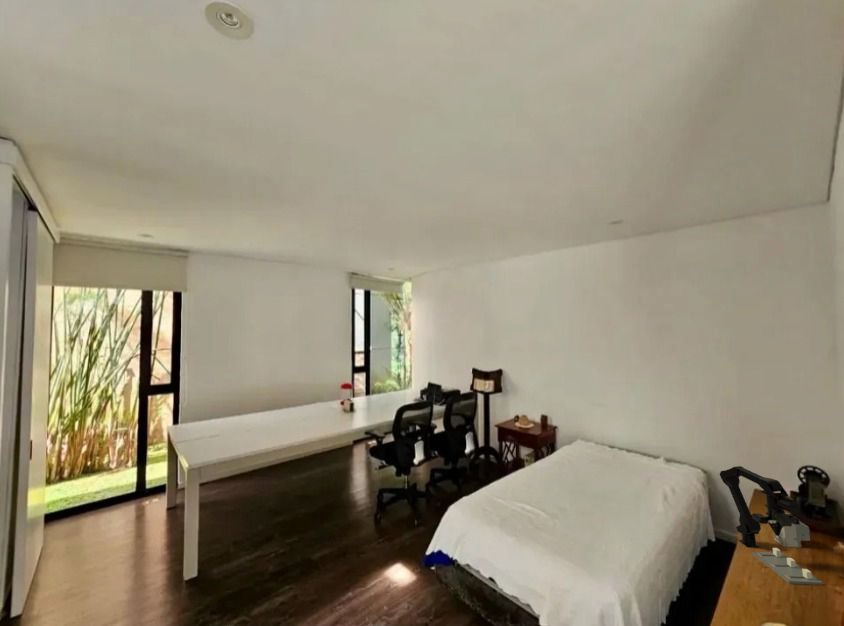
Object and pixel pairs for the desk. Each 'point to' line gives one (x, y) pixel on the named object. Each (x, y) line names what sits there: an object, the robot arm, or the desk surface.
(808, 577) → the handle
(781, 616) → the desk surface
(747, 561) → the desk surface
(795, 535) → the circuit breaker
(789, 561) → the handle middle
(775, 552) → the handle left
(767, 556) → the plate
